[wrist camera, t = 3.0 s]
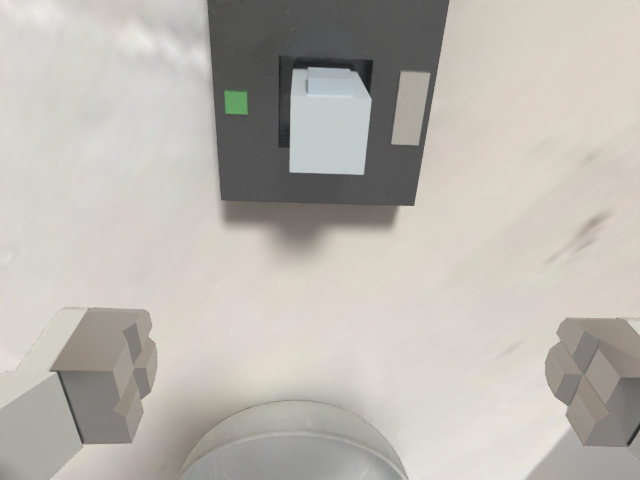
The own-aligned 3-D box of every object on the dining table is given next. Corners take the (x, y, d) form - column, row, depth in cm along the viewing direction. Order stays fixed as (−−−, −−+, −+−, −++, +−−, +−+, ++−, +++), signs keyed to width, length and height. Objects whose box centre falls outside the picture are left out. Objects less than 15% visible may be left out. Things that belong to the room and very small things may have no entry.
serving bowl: (416, 370, 41) (435, 438, 35) (382, 502, 51) (393, 572, 45) (178, 364, 39) (156, 434, 33) (195, 501, 50) (180, 573, 44)
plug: (348, 124, 28) (363, 174, 22) (292, 122, 28) (289, 172, 21) (354, 52, 26) (373, 82, 19) (293, 49, 26) (290, 79, 19)
